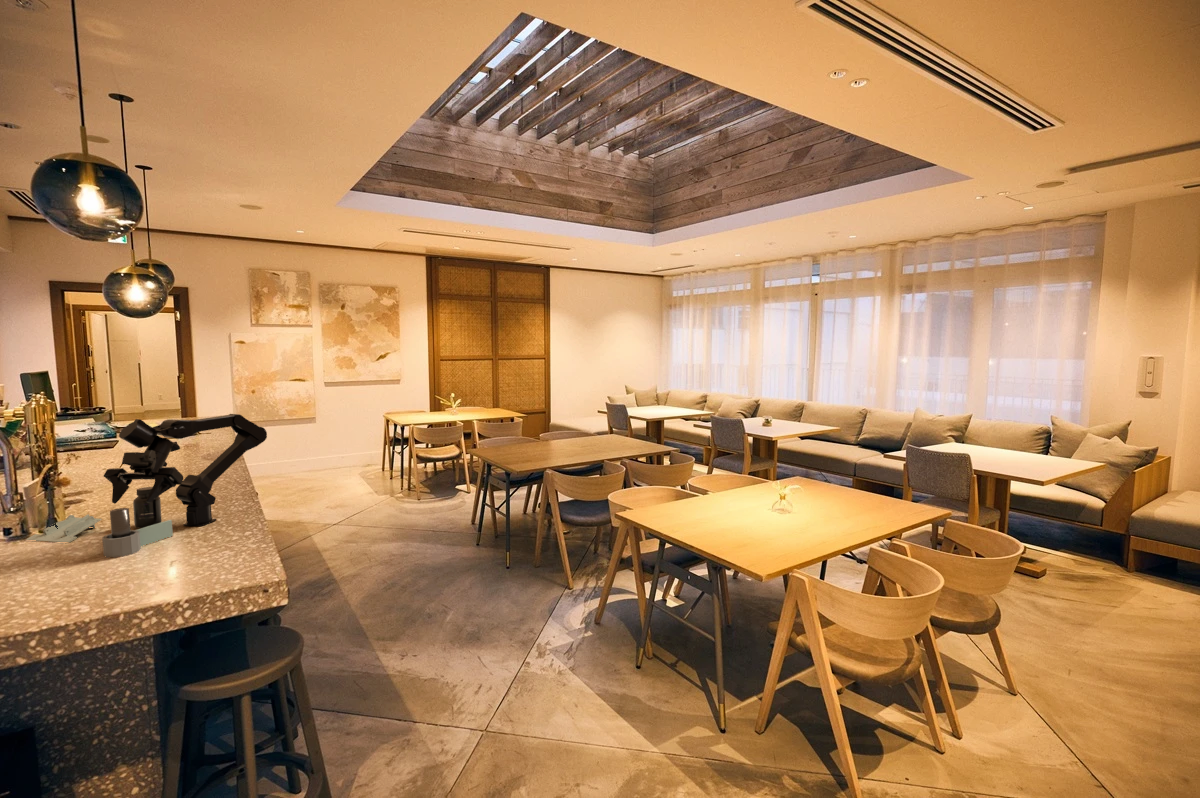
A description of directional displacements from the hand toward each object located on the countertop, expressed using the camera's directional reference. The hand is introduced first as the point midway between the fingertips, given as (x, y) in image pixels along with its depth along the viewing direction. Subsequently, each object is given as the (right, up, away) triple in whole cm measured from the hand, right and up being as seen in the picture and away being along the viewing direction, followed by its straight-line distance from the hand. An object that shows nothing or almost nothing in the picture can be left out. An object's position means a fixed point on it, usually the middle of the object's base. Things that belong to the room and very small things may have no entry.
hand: (130, 502), depth 159 cm
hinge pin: (0, -13, -3) cm, 14 cm away
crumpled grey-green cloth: (-29, -13, +12) cm, 34 cm away
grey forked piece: (-2, -13, +2) cm, 13 cm away
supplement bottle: (-12, -11, +21) cm, 27 cm away
